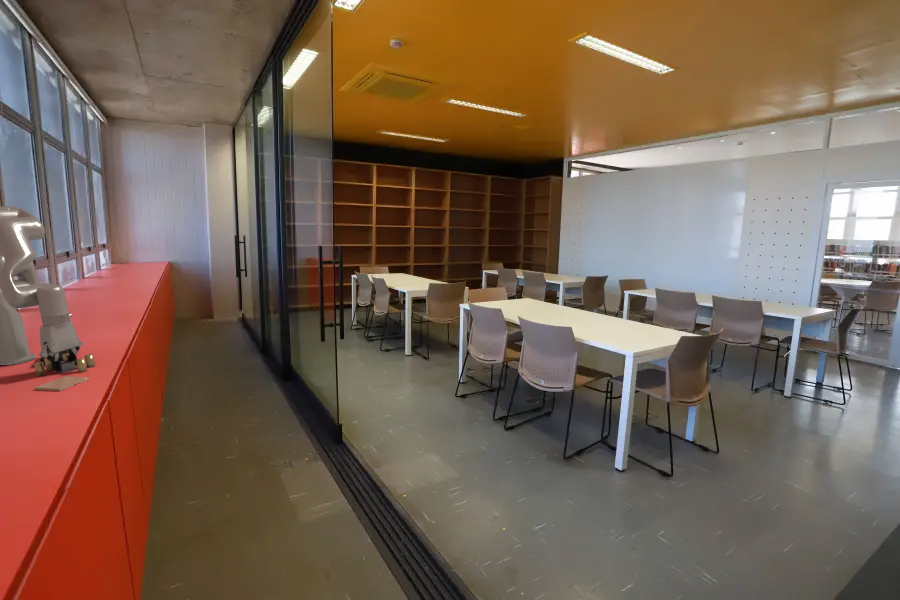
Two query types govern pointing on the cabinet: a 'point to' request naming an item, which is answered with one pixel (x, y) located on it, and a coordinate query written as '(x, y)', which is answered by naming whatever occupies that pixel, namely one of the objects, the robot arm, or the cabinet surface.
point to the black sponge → (58, 358)
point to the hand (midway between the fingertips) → (65, 367)
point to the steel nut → (67, 366)
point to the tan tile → (61, 383)
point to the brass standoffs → (80, 362)
